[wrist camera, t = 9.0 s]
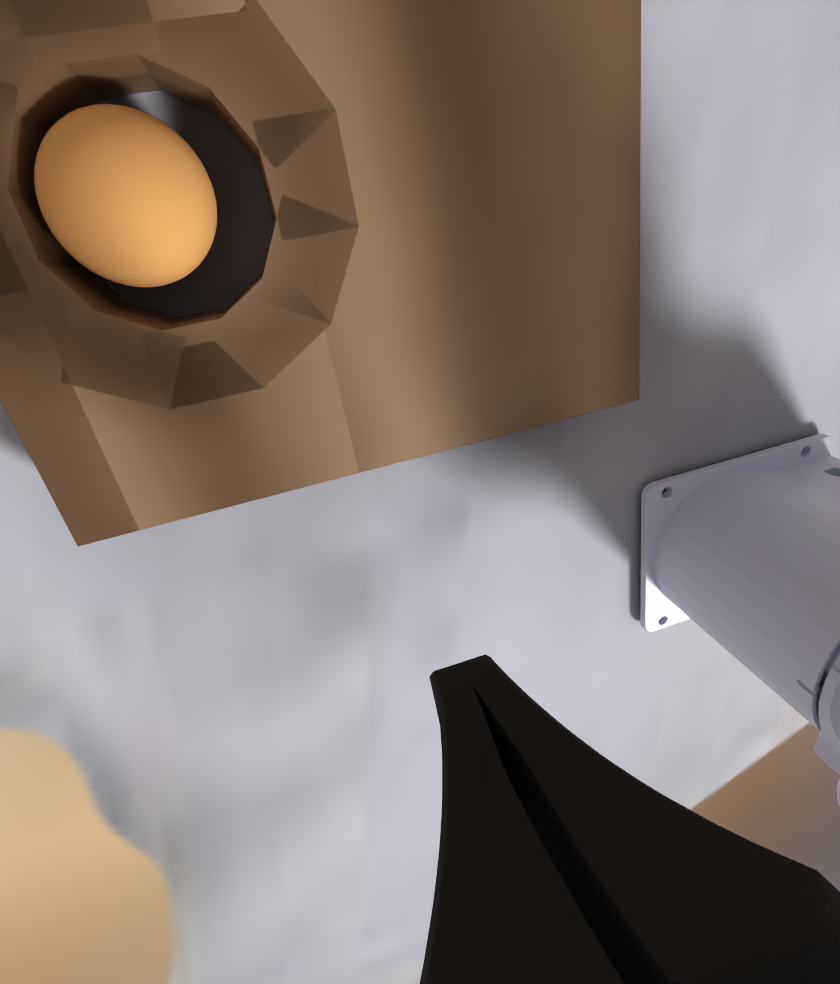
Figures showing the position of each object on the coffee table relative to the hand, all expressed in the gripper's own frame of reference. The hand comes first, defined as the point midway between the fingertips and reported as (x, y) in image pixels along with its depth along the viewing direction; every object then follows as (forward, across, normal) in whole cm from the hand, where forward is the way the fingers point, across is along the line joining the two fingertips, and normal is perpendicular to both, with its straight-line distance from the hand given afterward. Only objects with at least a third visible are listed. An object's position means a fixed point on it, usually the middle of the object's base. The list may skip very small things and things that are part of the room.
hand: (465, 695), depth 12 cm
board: (+10, 0, -11) cm, 15 cm away
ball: (+8, +4, -11) cm, 14 cm away
